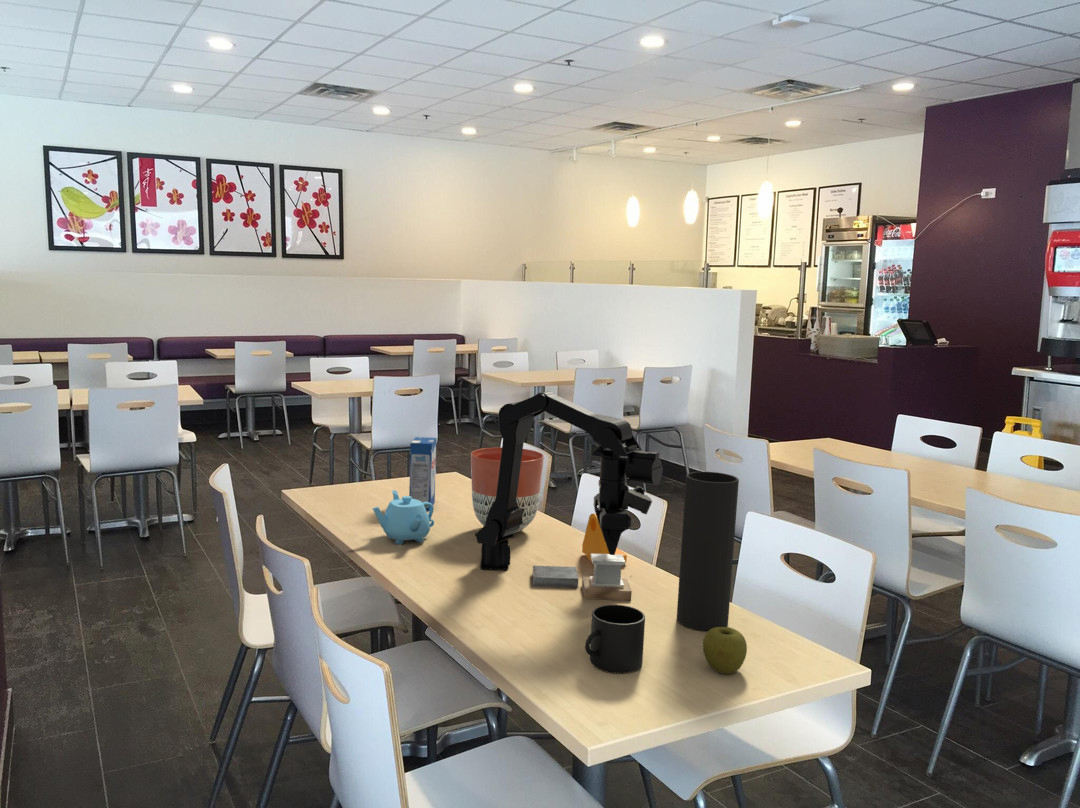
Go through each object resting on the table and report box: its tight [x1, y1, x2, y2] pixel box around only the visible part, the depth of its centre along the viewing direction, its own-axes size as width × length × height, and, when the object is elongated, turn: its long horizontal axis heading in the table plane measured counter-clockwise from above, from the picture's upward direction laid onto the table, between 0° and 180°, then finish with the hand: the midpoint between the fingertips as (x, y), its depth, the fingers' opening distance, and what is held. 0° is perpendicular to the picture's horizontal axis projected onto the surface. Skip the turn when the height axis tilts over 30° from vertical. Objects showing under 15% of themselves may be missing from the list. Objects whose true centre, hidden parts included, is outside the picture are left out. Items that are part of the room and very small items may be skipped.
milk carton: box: [408, 436, 437, 512], centre depth 252 cm, size 10×6×20 cm, turn 179°
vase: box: [676, 471, 740, 632], centre depth 170 cm, size 10×10×30 cm
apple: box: [702, 626, 748, 675], centre depth 150 cm, size 8×8×7 cm
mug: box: [584, 604, 646, 674], centre depth 150 cm, size 9×12×9 cm
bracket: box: [581, 513, 628, 564], centre depth 208 cm, size 11×7×12 cm, turn 22°
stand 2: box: [581, 576, 633, 601], centre depth 186 cm, size 10×8×2 cm
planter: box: [470, 446, 545, 534], centre depth 229 cm, size 20×20×21 cm
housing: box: [589, 554, 626, 588], centre depth 186 cm, size 7×5×6 cm
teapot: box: [372, 489, 435, 546], centre depth 219 cm, size 15×14×11 cm
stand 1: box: [532, 565, 579, 588], centre depth 193 cm, size 10×8×2 cm
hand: (609, 548), depth 185 cm, fingers open, 9 cm apart
